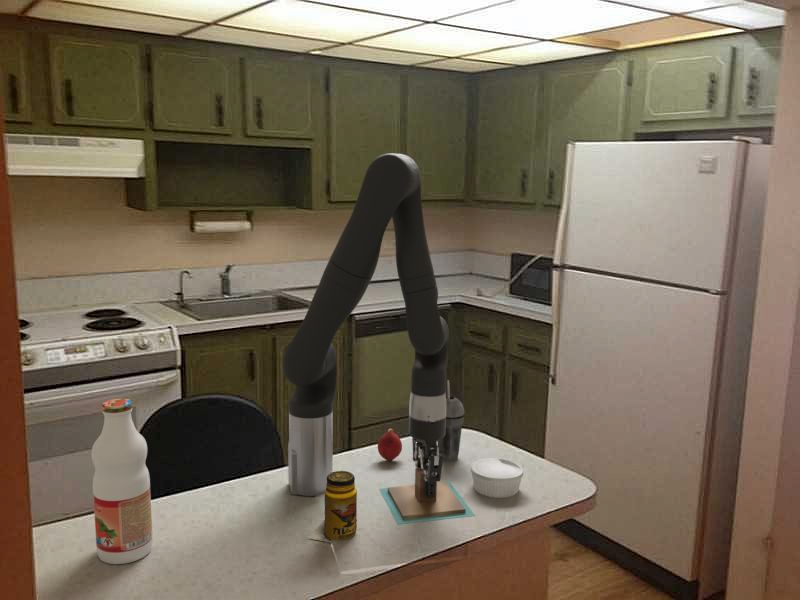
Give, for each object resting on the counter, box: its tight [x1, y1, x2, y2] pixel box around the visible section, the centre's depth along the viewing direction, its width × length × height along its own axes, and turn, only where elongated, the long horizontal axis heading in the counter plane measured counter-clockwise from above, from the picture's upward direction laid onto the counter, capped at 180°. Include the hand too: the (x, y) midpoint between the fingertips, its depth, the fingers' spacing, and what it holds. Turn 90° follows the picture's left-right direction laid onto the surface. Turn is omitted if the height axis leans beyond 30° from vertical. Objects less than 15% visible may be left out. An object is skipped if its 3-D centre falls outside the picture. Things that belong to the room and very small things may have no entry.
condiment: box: [308, 470, 358, 544], centre depth 135 cm, size 7×8×12 cm
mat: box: [378, 481, 476, 525], centre depth 149 cm, size 16×16×1 cm
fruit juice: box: [91, 398, 154, 565], centre depth 126 cm, size 9×9×28 cm
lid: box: [387, 467, 466, 520], centre depth 148 cm, size 13×13×7 cm
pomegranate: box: [377, 428, 403, 462], centre depth 170 cm, size 6×6×8 cm
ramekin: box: [470, 457, 524, 499], centre depth 156 cm, size 11×11×5 cm
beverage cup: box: [437, 379, 466, 462], centre depth 170 cm, size 7×7×20 cm
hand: (425, 490), depth 149 cm, fingers open, 5 cm apart
